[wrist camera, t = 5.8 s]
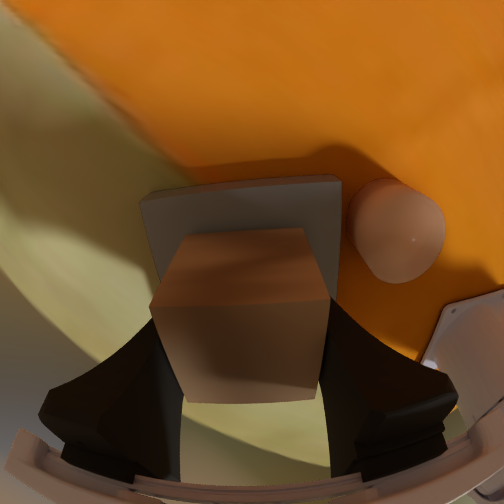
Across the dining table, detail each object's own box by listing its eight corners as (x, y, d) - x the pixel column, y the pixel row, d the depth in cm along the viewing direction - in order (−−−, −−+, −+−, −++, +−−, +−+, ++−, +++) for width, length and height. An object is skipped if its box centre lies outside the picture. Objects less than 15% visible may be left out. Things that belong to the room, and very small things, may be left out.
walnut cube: (302, 227, 12) (330, 298, 7) (299, 318, 14) (314, 398, 9) (185, 234, 12) (148, 306, 7) (203, 322, 14) (187, 402, 10)
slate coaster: (332, 174, 12) (341, 181, 11) (326, 318, 17) (331, 335, 15) (149, 192, 13) (139, 202, 12) (186, 329, 17) (182, 345, 16)
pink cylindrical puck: (419, 178, 12) (451, 194, 10) (410, 251, 15) (435, 277, 12) (346, 178, 13) (369, 195, 10) (343, 258, 15) (360, 289, 12)
